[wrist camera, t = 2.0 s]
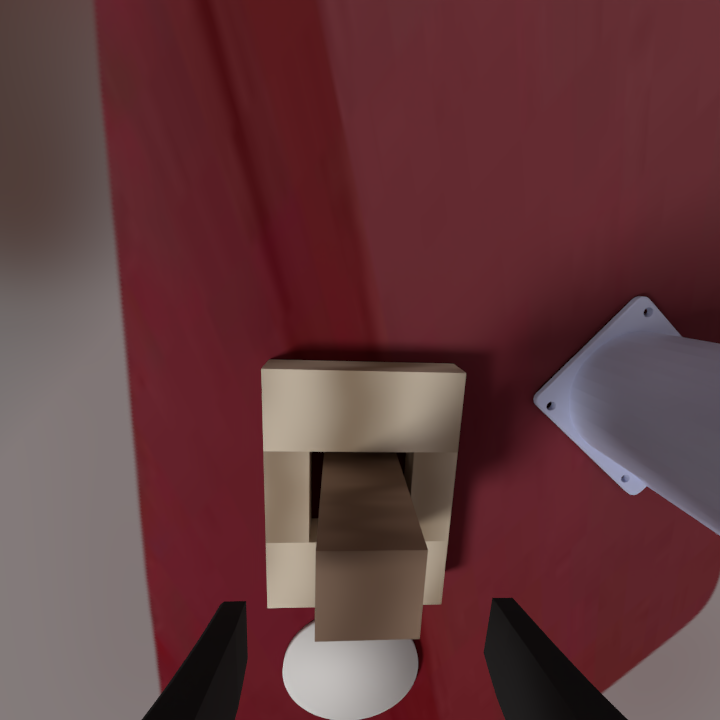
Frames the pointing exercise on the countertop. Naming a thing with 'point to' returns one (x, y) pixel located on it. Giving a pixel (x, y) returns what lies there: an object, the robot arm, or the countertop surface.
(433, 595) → the holder block
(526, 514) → the countertop surface
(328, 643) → the coaster
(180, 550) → the countertop surface
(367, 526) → the plug peg
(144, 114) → the countertop surface
